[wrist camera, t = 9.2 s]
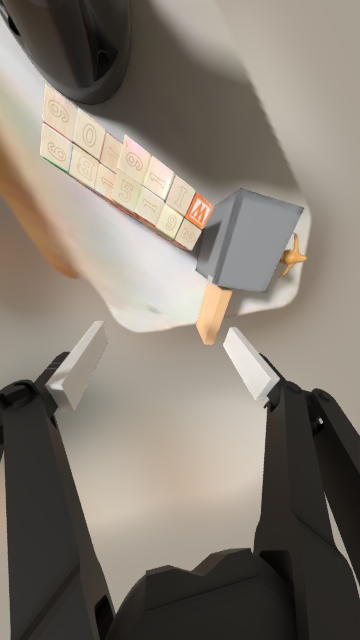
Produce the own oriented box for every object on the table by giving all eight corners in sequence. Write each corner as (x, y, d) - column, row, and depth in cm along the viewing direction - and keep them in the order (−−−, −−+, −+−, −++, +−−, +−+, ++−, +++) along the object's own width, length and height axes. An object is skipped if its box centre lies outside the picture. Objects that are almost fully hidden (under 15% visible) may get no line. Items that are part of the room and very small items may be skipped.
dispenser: (208, 210, 28) (240, 188, 17) (250, 221, 30) (304, 207, 19) (195, 272, 34) (212, 285, 23) (231, 277, 36) (263, 293, 25)
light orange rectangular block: (208, 279, 35) (221, 289, 27) (216, 280, 36) (232, 291, 28) (196, 325, 42) (204, 344, 34) (203, 326, 42) (213, 344, 34)
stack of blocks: (78, 183, 24) (14, 135, 14) (86, 138, 22) (16, 38, 11) (181, 249, 31) (192, 251, 21) (195, 220, 29) (216, 206, 18)
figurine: (270, 271, 37) (313, 282, 26) (249, 272, 36) (285, 283, 26) (281, 235, 33) (337, 230, 22) (257, 235, 32) (304, 230, 21)
